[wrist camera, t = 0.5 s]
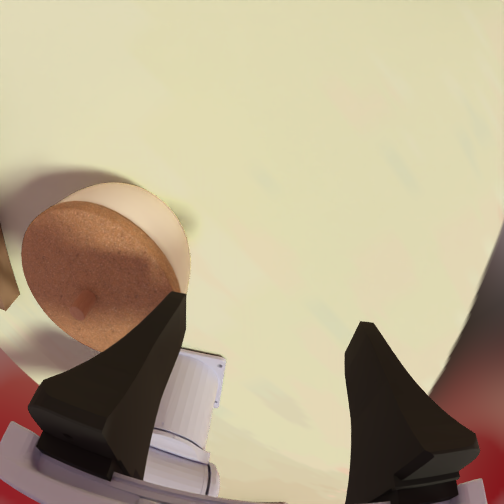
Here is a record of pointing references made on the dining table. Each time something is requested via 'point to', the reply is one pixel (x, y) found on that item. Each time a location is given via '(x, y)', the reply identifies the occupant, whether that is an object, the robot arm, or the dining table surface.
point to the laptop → (278, 503)
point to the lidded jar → (105, 260)
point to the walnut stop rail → (6, 278)
